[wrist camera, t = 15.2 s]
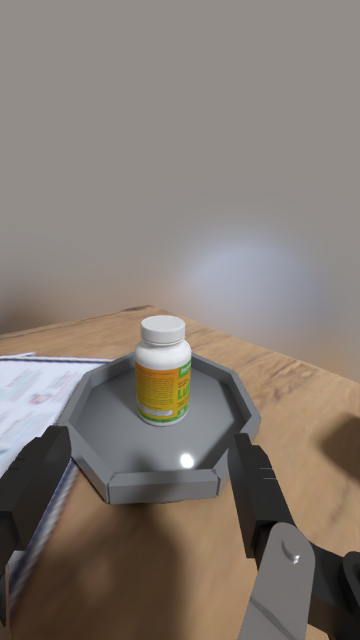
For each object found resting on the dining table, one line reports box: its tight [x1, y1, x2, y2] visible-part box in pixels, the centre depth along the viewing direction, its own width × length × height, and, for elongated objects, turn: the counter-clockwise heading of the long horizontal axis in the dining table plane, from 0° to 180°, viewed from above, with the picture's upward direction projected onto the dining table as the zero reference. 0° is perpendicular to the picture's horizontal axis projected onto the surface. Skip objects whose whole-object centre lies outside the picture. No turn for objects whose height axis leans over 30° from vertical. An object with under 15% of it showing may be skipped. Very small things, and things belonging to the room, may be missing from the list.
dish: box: [57, 352, 261, 505], centre depth 23 cm, size 18×18×2 cm
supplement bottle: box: [135, 315, 191, 426], centre depth 22 cm, size 5×5×10 cm
